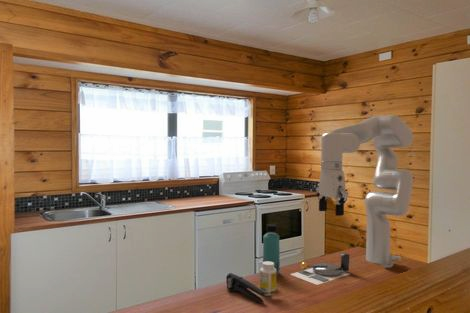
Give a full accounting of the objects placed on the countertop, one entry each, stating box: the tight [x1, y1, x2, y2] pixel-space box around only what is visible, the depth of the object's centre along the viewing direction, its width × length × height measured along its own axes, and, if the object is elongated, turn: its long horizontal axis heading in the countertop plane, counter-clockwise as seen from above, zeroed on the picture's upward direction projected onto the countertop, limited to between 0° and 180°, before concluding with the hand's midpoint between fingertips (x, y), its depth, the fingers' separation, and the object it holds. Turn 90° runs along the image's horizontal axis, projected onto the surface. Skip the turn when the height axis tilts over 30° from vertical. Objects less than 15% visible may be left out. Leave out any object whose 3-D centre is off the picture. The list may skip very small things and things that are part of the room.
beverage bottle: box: [262, 223, 281, 276], centre depth 133 cm, size 6×7×20 cm
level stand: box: [289, 267, 351, 286], centre depth 133 cm, size 20×13×2 cm, turn 127°
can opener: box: [225, 272, 266, 303], centre depth 116 cm, size 18×7×6 cm, turn 38°
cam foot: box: [300, 252, 350, 276], centre depth 136 cm, size 19×11×7 cm, turn 92°
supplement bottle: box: [259, 261, 277, 297], centre depth 118 cm, size 6×6×10 cm
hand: (330, 213), depth 128 cm, fingers open, 9 cm apart
